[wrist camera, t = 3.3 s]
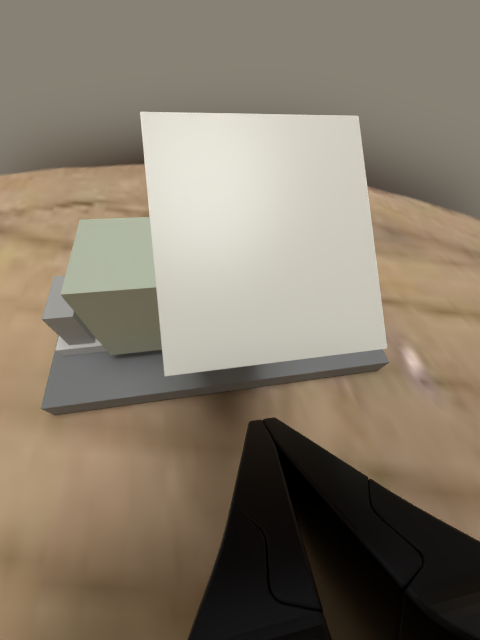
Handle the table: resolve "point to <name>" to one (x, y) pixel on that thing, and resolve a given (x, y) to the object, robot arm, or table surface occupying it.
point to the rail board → (155, 386)
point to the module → (260, 239)
